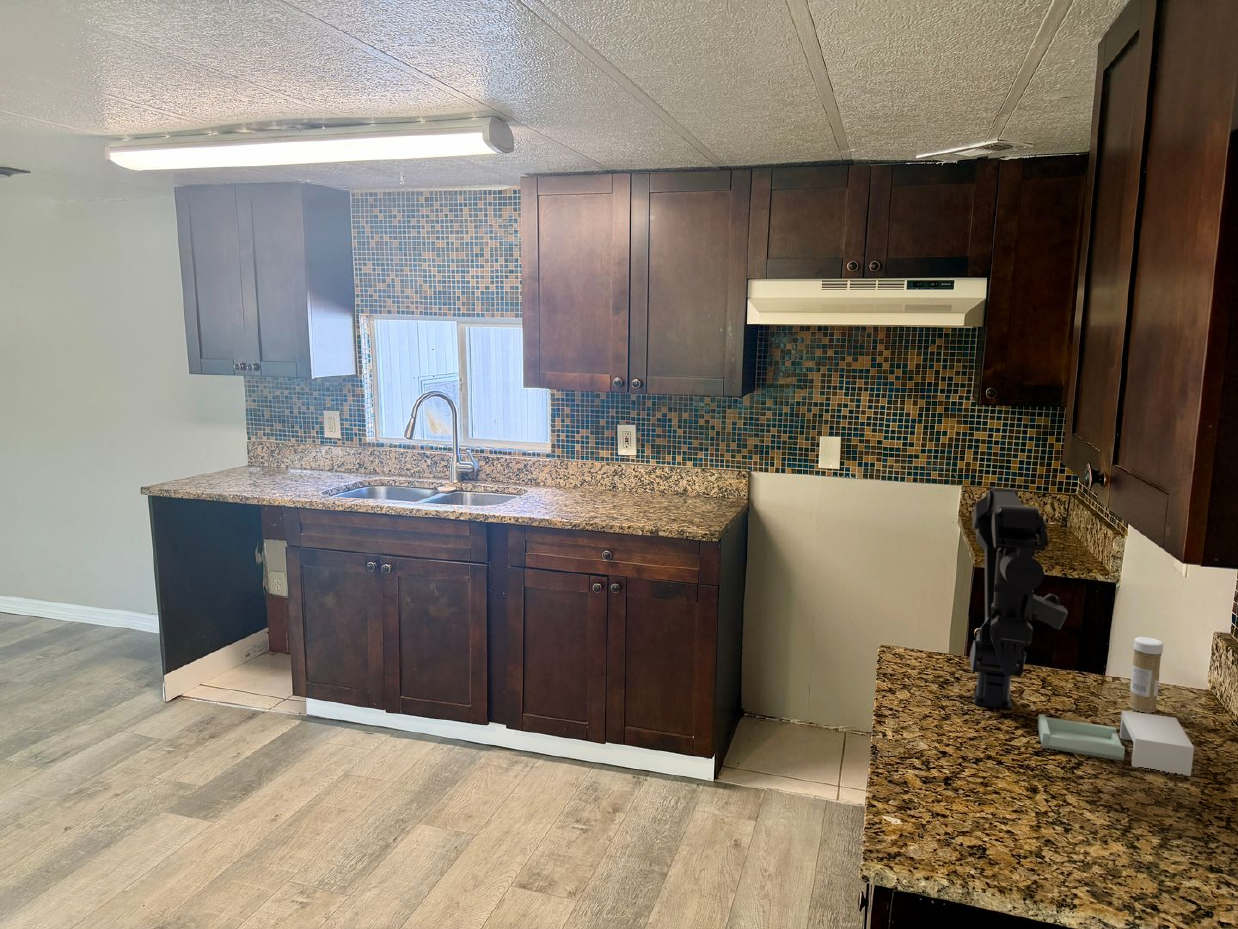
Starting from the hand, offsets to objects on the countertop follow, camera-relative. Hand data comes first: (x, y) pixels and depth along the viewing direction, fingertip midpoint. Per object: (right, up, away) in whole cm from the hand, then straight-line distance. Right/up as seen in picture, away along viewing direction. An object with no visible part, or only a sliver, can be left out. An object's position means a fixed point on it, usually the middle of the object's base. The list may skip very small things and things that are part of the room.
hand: (1007, 668), depth 146 cm
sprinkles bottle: (+31, -11, +12) cm, 35 cm away
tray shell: (+11, -12, -2) cm, 17 cm away
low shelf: (+22, -13, -6) cm, 26 cm away
